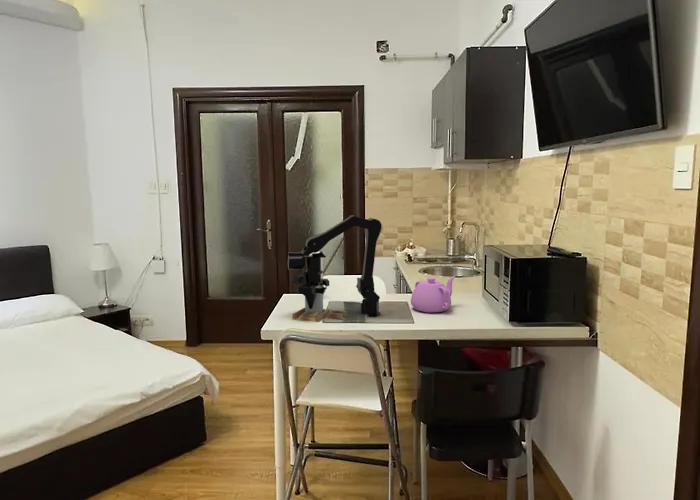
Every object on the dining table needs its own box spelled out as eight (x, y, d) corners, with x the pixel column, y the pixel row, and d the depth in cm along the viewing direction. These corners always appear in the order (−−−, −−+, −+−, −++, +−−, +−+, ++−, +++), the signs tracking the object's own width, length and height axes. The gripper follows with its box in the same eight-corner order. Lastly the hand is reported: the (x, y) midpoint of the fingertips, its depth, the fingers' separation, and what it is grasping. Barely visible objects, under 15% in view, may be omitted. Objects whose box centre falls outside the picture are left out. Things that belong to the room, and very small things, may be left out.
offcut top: (319, 315, 207) (319, 312, 207) (316, 317, 203) (316, 315, 203) (304, 314, 209) (304, 311, 208) (301, 316, 204) (301, 314, 204)
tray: (329, 317, 211) (329, 309, 211) (318, 323, 201) (318, 316, 200) (304, 314, 215) (304, 307, 214) (292, 321, 205) (292, 313, 204)
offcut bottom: (320, 317, 208) (320, 314, 207) (315, 320, 203) (315, 318, 203) (304, 315, 210) (304, 313, 210) (298, 318, 205) (298, 316, 205)
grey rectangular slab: (323, 315, 210) (322, 293, 209) (321, 316, 208) (321, 294, 207) (307, 314, 213) (307, 292, 212) (305, 315, 211) (305, 293, 210)
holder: (346, 318, 209) (346, 311, 208) (341, 321, 204) (341, 314, 203) (332, 317, 211) (332, 310, 210) (327, 320, 206) (327, 313, 205)
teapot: (471, 311, 221) (472, 279, 219) (431, 317, 210) (432, 284, 208) (437, 301, 240) (438, 271, 238) (399, 306, 229) (399, 275, 227)
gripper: (305, 264, 220) (305, 300, 222) (284, 271, 202) (285, 310, 204) (329, 265, 216) (330, 302, 218) (311, 272, 198) (311, 313, 200)
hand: (314, 306), depth 210 cm, fingers open, 6 cm apart
